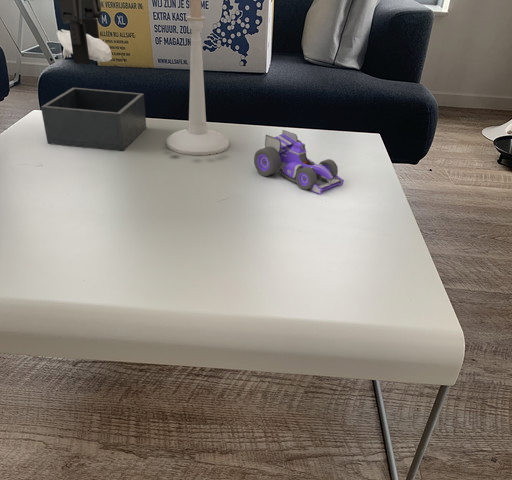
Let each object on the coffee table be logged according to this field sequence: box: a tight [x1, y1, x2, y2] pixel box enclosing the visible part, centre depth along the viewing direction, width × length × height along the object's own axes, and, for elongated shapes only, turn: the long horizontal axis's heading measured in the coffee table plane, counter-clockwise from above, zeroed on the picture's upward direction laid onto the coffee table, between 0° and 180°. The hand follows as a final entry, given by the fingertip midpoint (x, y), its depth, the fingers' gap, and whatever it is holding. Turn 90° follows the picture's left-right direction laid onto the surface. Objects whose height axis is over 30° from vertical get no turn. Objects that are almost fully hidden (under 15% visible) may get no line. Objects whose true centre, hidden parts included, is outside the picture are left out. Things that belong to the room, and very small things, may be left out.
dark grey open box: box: [40, 87, 147, 152], centre depth 112 cm, size 16×16×7 cm
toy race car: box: [253, 129, 345, 195], centre depth 99 cm, size 10×15×6 cm, turn 46°
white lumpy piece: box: [55, 29, 113, 64], centre depth 102 cm, size 5×7×10 cm
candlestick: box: [165, 0, 230, 156], centre depth 103 cm, size 13×13×30 cm
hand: (88, 59), depth 103 cm, fingers closed on white lumpy piece, 5 cm apart
